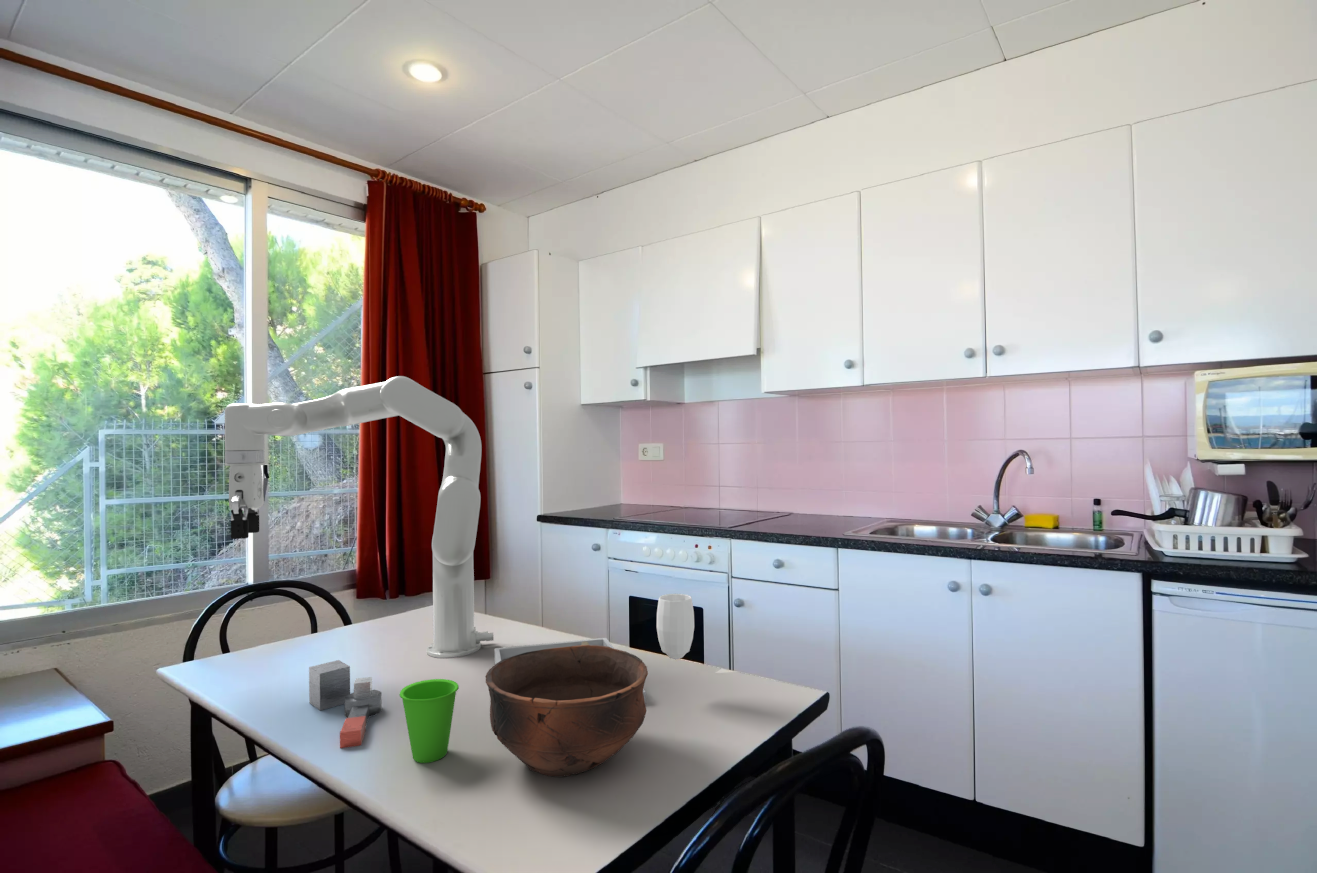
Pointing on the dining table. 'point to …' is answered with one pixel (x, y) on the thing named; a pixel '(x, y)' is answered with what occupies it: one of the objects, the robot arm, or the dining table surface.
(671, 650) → the cup
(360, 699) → the ratchet
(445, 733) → the cup
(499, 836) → the dining table surface
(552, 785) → the dining table surface
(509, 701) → the bowl
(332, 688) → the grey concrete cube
